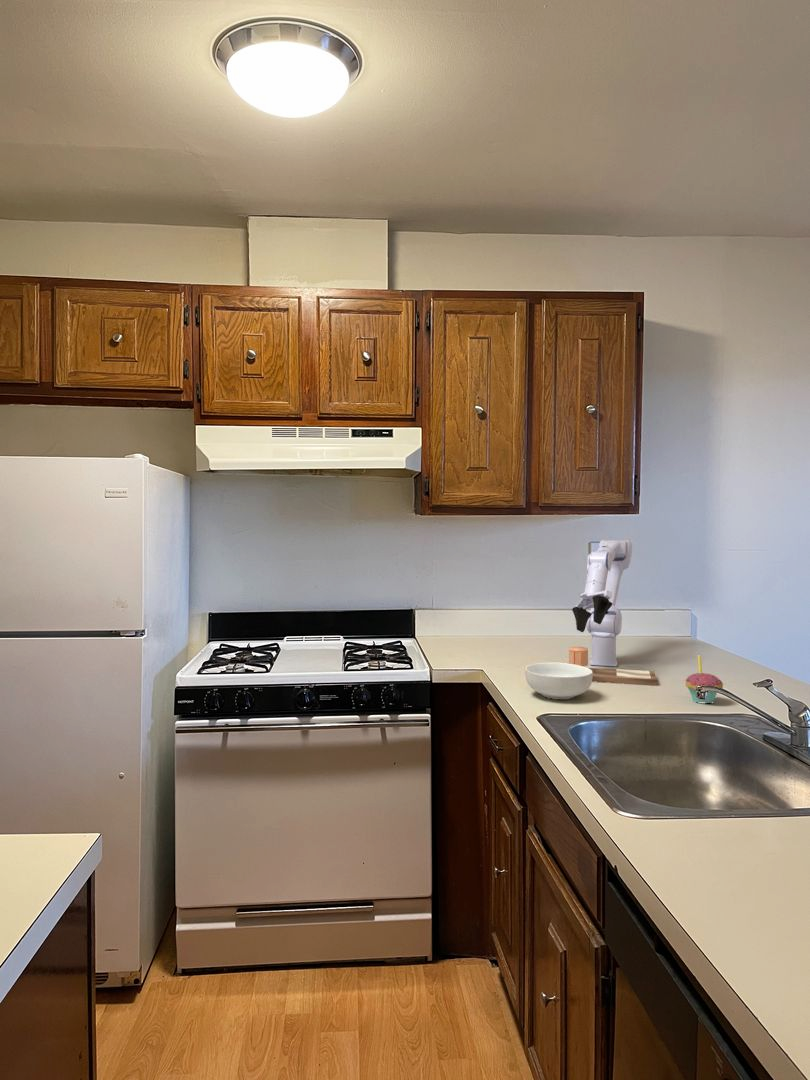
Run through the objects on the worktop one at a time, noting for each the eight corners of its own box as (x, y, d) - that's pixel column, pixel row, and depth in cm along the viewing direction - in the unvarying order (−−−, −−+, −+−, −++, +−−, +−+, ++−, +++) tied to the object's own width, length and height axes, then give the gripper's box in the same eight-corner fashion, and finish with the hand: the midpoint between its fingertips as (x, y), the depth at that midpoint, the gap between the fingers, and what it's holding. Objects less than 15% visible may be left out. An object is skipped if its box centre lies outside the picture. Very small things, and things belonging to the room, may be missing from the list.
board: (554, 671, 212) (554, 645, 212) (654, 676, 205) (654, 650, 205) (552, 679, 202) (552, 652, 202) (657, 685, 194) (657, 658, 194)
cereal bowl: (543, 706, 173) (543, 677, 173) (514, 690, 189) (514, 664, 189) (605, 701, 178) (605, 673, 178) (571, 686, 194) (571, 660, 194)
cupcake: (677, 699, 180) (678, 651, 180) (704, 696, 183) (705, 649, 183) (703, 707, 172) (703, 658, 172) (730, 704, 175) (731, 655, 175)
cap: (569, 662, 208) (569, 646, 208) (587, 663, 207) (588, 647, 207) (568, 665, 203) (568, 649, 203) (587, 666, 202) (587, 650, 202)
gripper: (569, 589, 215) (561, 628, 208) (600, 571, 203) (593, 612, 196) (588, 599, 217) (581, 638, 209) (620, 582, 205) (614, 623, 198)
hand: (588, 626), depth 203 cm, fingers open, 7 cm apart
